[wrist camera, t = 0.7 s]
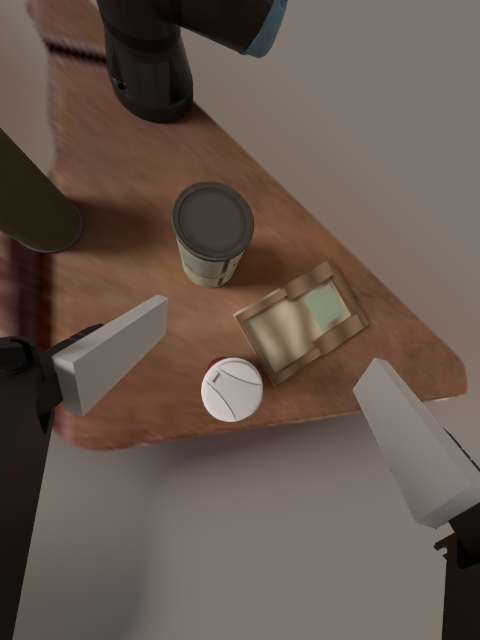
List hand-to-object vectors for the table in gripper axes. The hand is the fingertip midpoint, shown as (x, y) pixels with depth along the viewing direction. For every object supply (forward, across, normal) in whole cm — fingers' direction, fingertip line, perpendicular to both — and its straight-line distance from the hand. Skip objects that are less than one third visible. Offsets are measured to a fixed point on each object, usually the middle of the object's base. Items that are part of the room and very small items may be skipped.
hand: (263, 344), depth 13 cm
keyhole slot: (+28, +9, -9) cm, 31 cm away
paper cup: (+18, -3, -19) cm, 26 cm away
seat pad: (+31, +13, -6) cm, 34 cm away
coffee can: (+27, -12, -2) cm, 30 cm away
